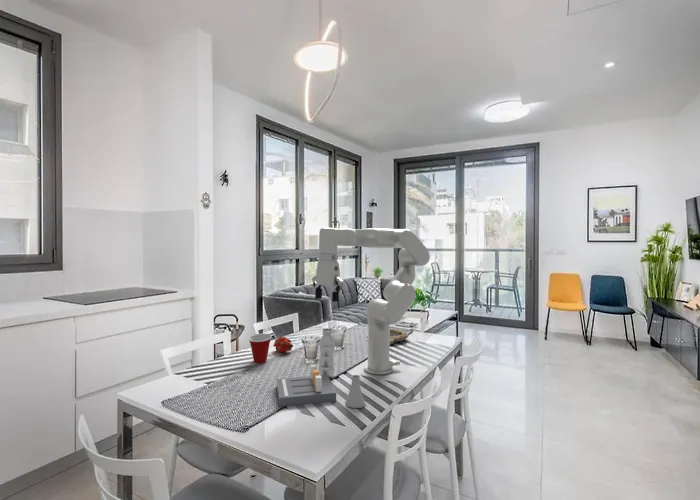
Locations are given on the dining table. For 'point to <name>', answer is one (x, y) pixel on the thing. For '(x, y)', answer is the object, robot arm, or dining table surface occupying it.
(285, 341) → the dragon fruit
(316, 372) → the block
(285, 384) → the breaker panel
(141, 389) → the dining table surface
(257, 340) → the plastic cup
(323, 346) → the plastic bottle
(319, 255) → the robot arm
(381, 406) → the dining table surface
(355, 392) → the flask
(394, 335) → the pie
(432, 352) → the dining table surface
